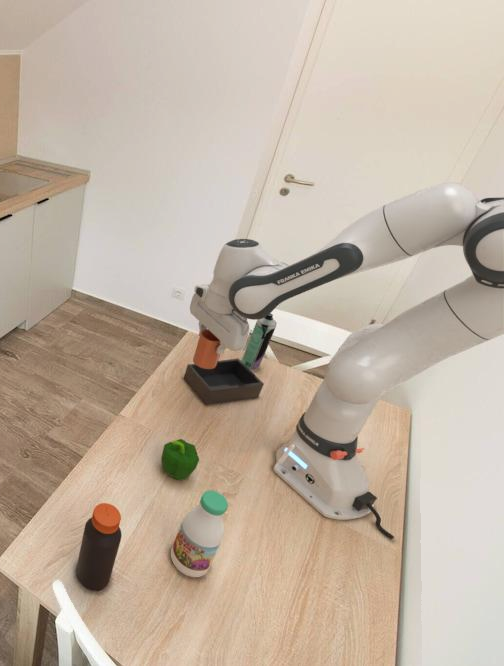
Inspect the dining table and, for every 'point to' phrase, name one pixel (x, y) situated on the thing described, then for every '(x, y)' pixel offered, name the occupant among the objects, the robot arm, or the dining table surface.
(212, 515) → the milk bottle
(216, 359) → the cup
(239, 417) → the dining table surface
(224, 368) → the dark open tray
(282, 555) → the dining table surface
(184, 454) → the bell pepper
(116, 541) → the vinegar
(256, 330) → the spray can
